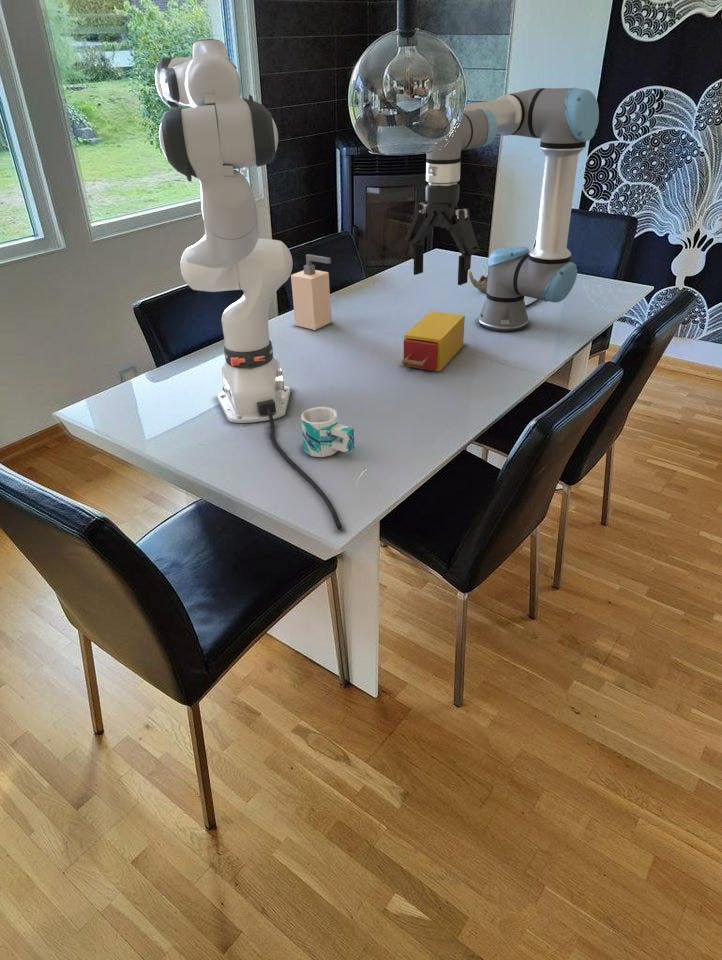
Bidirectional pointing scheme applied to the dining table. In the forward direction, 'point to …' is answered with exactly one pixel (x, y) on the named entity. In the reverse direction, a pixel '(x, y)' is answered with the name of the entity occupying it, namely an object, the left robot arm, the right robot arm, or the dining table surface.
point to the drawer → (420, 354)
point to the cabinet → (440, 334)
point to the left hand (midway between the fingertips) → (226, 177)
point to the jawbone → (479, 282)
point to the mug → (325, 433)
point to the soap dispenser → (311, 295)
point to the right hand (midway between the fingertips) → (439, 278)
